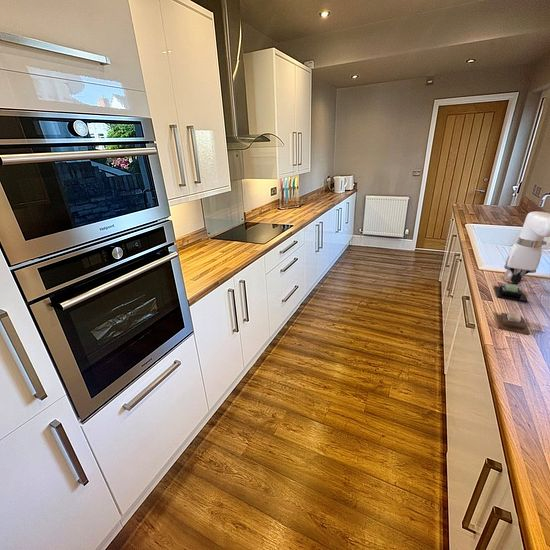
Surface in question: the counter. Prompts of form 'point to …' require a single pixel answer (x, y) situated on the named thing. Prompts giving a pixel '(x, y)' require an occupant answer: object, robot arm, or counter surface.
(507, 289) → the key far
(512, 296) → the keypad far
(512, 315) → the key near
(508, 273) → the plastic bottle
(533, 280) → the counter surface
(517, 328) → the keypad near
